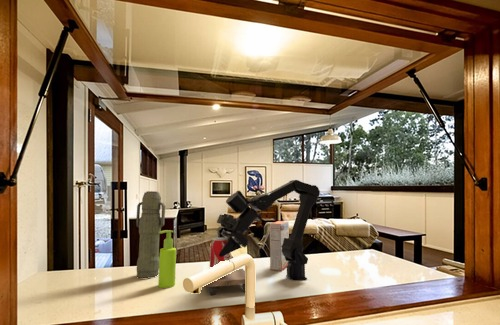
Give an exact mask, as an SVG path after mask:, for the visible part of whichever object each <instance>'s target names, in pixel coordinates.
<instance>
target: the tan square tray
mask: <svg viewBox="0 0 500 325" xmlns="http://www.w3.org/2000/svg"><path fill="white" fill-rule="evenodd" d="M238 269H239V270H236V271H234V272H232V273H231V274H228V275H226V276H224V277H222V278H220V279H218V280H217V281H214V282H212V283H210V284H208V285H205V287H207V292H208V294H209V295H210V296H214V295H216V293H217V292H218V287H224V286H225V287H226V286H237V285H241V288H242V290H243V291H244V292H246V291H245V271H246V270H245V269H244V268H238Z"/></svg>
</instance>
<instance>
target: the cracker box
mask: <svg viewBox="0 0 500 325" xmlns="http://www.w3.org/2000/svg"><path fill="white" fill-rule="evenodd" d="M268 227H269V261H270V262H269V263H270V264H269V265H270V266H269V268H270V270H271V271H280V272H282V271H283V270H285V269H287V266H288V262H289V261H286V259H285V256H284V255H283V253H282V247H281V246H282V245H283V241H284V238H289V237H290V235H289V233H290V232H289V230H290V228H289V221H284V220H279V221H278V220H277V221H274V222H272V223H269V226H268Z"/></svg>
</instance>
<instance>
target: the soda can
mask: <svg viewBox="0 0 500 325" xmlns="http://www.w3.org/2000/svg"><path fill="white" fill-rule="evenodd" d="M226 243H227V238H218V237H213V238H211V242H210V245H209V268H210V267H213V266H214V265H216V264H218V263H219V262H220V261H225V260H229V259H230V254H231V252H230V253H228V254H226V255H224V256H222V257H220V256H219V253H220V252H221V250H222V249H223V247H224V246H225V244H226ZM229 261H230V260H229Z"/></svg>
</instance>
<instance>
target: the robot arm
mask: <svg viewBox="0 0 500 325" xmlns="http://www.w3.org/2000/svg"><path fill="white" fill-rule="evenodd" d="M293 192H294V193H297V194H298V198H299V207H298V210H297V213H296V216H295V219H294V223H293V227H292V229H291V232H290V235H289V238H284V241H283V245H282V246H281V247H282V253H283V255H284V256H285V259H286V261H289V262H288V266H287V267H286V275H285V276H286V277H287V278H288V279H290V280H291V281H303V280H308V278H307V276H306V269H305V268H306V265H308V262H309V258H308V257H307V256H306V255H305V253H303V250H304V244H303V237H304V233H305V230H306V227H307V223H308V219H309V216H310V213H311V209H312V207H313V206H314V205H315V203H316V202H318V199H319V197H320V193H321V191H320V189H319V187H318V186H317V185H315V184H314V185H313V184H310V183H305V182H302V181H300V180H298V179H292V180H289V181H288V182H287V183H285V184H283V185H280V186H279V187H277V188H275V189H273V190H271V191H269V192H267V193H266V192H265V193H262V194H258V195H255V196H252V197H251V198H250V199H247V197H245V195H244V194H243V193H242V192H241V190H237V191H236V192H234V193H232V194H231V195H230V196H229V197H227V199H226V201H225V203H226V204H227V205H228V207H229V208H231V210H232V211H233V212H234V213H236V214H238V213H239V215H238V216H237V217H235V216H234V215H232V214H228V215H224V214H219V216H218V218H217V220H216V223H217V224H220V225H223V226H219V227H218V228H217V229H216V230H215V231H216V232H217V238H227V243H226V244H225V246H224V247H223V249H222V250H221V252H220V253H219V256H220V257H222V256H224V255H226V254H228V253H230V254H231V253H232V252H235V251H237V250H240V249H242V248H246V247H247V246H248V245H249V238H248V237H247V236H246V235H245V233H246V232H249V231H250V227H251V226H252V224H253V223H254V222H256V221H260V222H262V221H263V218H262V213H258V212H257V211H260V212H265V211H267V210H268V209H269V208H270V207H272V206H273V204H274V203H275V202H277V201H278V200H280V199H282V198H283V197H285V196H287V195H290V194H291V193H293ZM255 220H256V221H255Z"/></svg>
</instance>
